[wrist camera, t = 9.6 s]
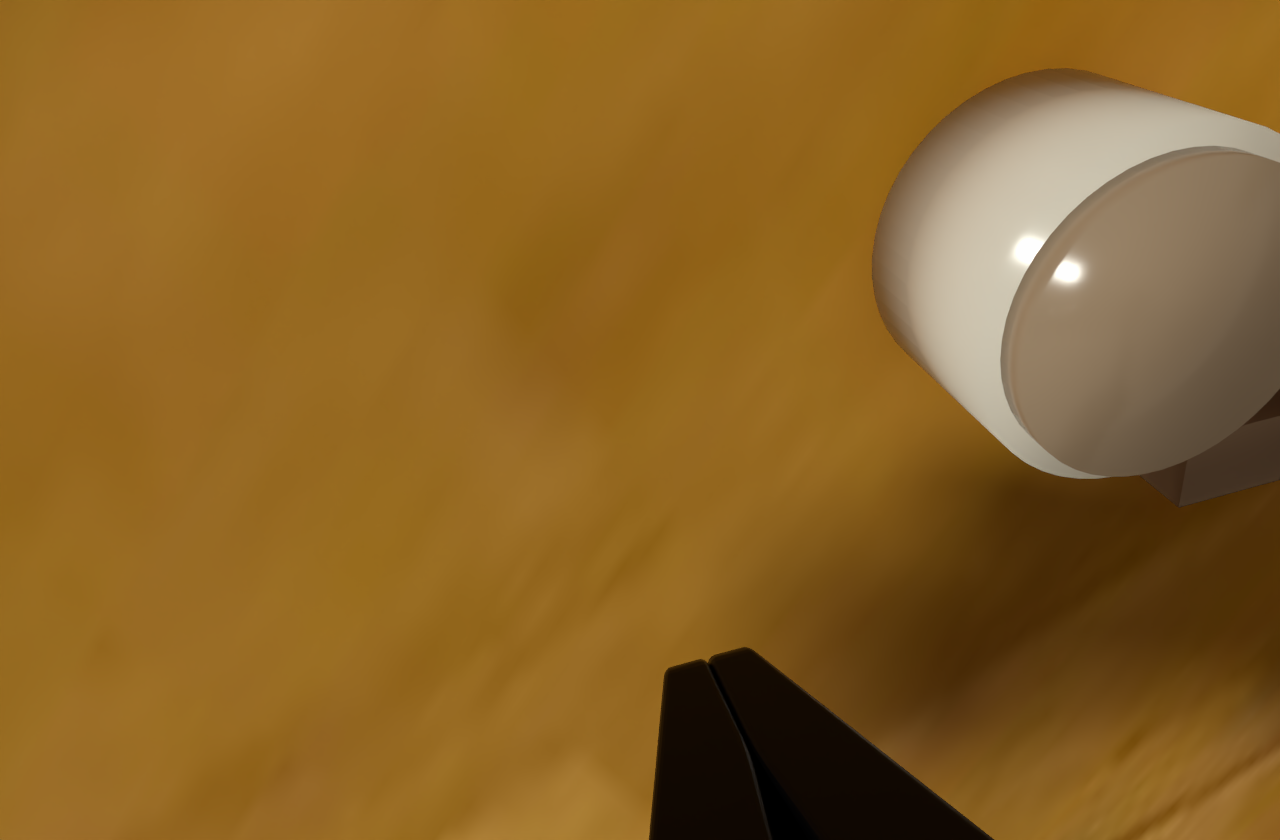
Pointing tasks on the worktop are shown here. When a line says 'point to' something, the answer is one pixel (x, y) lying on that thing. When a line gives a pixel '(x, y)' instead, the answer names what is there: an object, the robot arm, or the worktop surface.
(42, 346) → the worktop surface
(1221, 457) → the lane
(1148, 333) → the cream jar
